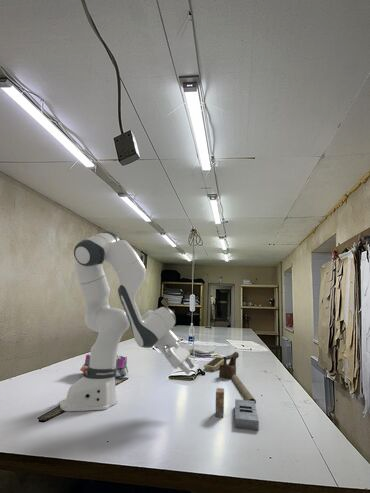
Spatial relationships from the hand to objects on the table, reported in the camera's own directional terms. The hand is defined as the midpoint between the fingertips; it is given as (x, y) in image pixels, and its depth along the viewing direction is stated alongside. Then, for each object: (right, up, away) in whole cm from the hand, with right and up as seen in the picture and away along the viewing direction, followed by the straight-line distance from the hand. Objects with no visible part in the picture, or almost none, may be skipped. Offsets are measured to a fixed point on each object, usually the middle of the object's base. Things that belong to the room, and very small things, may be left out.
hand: (191, 370), depth 121 cm
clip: (+11, -15, -5) cm, 20 cm away
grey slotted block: (+21, -15, -7) cm, 27 cm away
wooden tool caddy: (+25, -28, +58) cm, 69 cm away
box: (+17, -31, +76) cm, 84 cm away
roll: (+26, -23, +30) cm, 46 cm away
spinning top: (-48, -23, +47) cm, 71 cm away
